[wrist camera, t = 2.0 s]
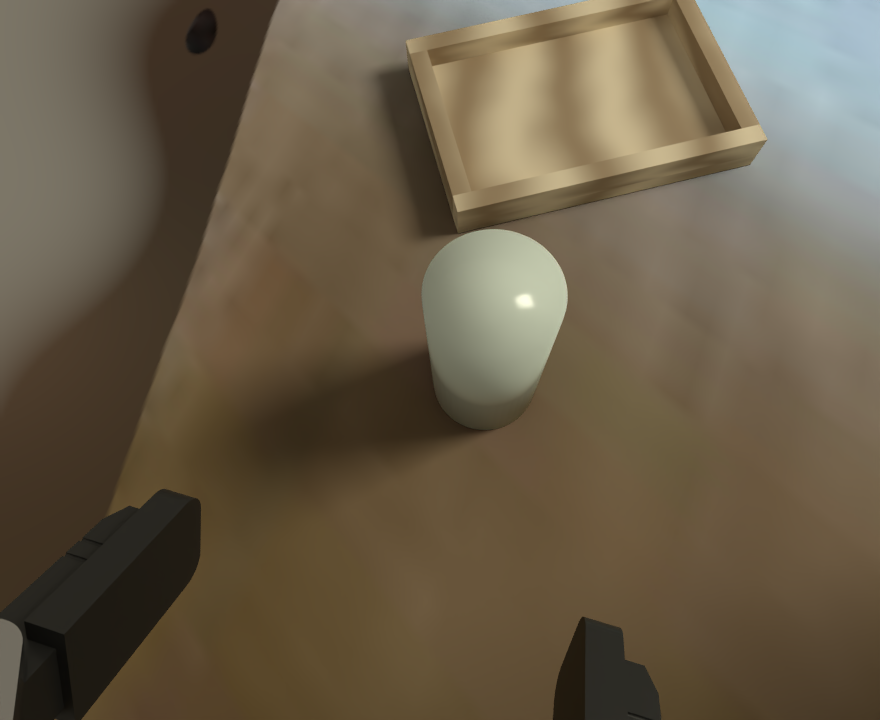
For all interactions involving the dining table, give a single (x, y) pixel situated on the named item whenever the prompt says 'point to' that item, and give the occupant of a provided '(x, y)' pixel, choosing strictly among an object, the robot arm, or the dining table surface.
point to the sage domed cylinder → (491, 324)
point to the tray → (578, 107)
